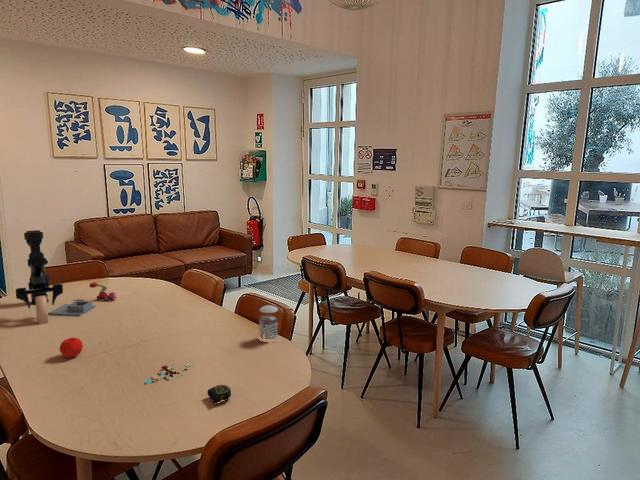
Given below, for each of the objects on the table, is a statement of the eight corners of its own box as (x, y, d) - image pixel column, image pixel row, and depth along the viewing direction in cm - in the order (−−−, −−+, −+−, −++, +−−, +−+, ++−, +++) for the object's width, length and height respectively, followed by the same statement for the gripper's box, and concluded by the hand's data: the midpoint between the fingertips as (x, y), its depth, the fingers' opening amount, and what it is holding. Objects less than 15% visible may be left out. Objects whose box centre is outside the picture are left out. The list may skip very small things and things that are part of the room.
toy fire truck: (113, 301, 236) (112, 284, 234) (90, 300, 237) (89, 283, 235) (117, 299, 239) (116, 283, 237) (93, 298, 240) (92, 281, 239)
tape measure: (206, 397, 143) (206, 387, 143) (226, 392, 147) (226, 382, 147) (214, 407, 138) (214, 396, 137) (234, 401, 142) (234, 390, 141)
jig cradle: (48, 314, 213) (47, 307, 212) (65, 305, 227) (65, 298, 226) (80, 316, 212) (79, 308, 212) (95, 307, 226) (95, 299, 226)
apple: (59, 362, 164) (58, 344, 163) (60, 354, 171) (59, 336, 170) (83, 358, 168) (82, 340, 167) (83, 350, 175) (82, 333, 174)
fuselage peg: (35, 324, 201) (32, 298, 199) (41, 320, 205) (39, 295, 203) (44, 324, 201) (42, 298, 198) (50, 321, 205) (48, 295, 203)
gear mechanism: (138, 379, 154) (151, 389, 148) (137, 365, 153) (150, 374, 147) (187, 361, 169) (201, 369, 163) (186, 349, 168) (200, 356, 162)
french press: (283, 337, 195) (284, 283, 191) (270, 346, 185) (270, 290, 181) (265, 332, 199) (265, 280, 195) (250, 341, 189) (251, 286, 185)
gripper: (13, 271, 198) (16, 301, 191) (61, 267, 208) (64, 295, 201) (15, 284, 205) (17, 313, 198) (60, 279, 216) (64, 306, 209)
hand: (41, 306), depth 201 cm, fingers open, 9 cm apart
